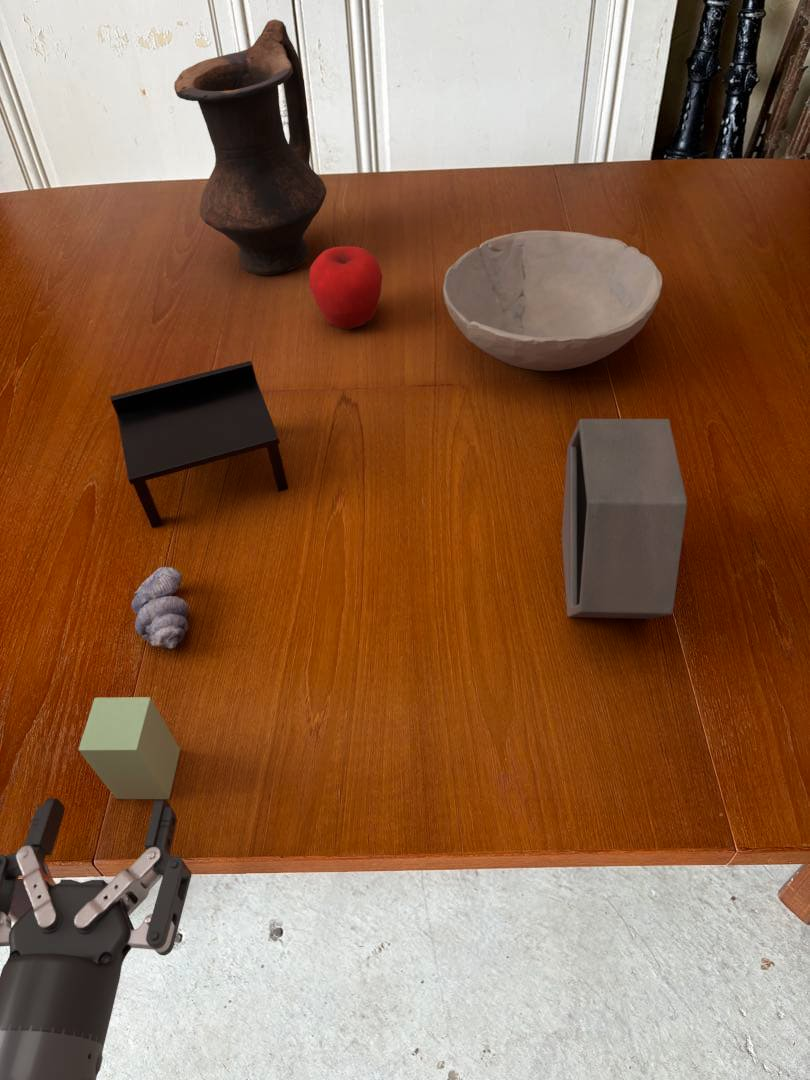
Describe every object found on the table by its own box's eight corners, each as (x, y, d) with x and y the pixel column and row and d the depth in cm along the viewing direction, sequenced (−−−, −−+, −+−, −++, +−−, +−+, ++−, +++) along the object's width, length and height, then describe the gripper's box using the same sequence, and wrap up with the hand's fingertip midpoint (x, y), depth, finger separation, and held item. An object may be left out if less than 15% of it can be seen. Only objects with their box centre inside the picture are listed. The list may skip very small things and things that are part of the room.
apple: (337, 351, 109) (327, 278, 101) (303, 319, 115) (291, 247, 107) (399, 324, 112) (393, 252, 104) (363, 294, 118) (355, 223, 110)
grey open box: (561, 459, 86) (587, 399, 66) (636, 459, 85) (685, 398, 65) (561, 619, 84) (588, 609, 63) (637, 621, 83) (689, 611, 63)
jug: (285, 304, 117) (242, 79, 95) (190, 274, 125) (128, 58, 102) (365, 237, 129) (344, 22, 106) (274, 213, 136) (235, 7, 113)
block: (116, 799, 69) (77, 750, 62) (129, 749, 72) (94, 697, 65) (169, 799, 69) (136, 749, 62) (180, 749, 72) (150, 696, 65)
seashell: (156, 594, 85) (179, 669, 79) (112, 581, 81) (133, 659, 75) (187, 561, 83) (213, 635, 77) (144, 546, 79) (168, 623, 73)
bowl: (410, 327, 112) (405, 261, 104) (570, 271, 119) (577, 205, 111) (513, 437, 96) (516, 367, 88) (691, 364, 103) (708, 294, 95)
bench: (150, 530, 89) (122, 465, 82) (137, 461, 97) (110, 396, 90) (290, 489, 92) (275, 423, 85) (267, 425, 100) (251, 360, 93)
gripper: (132, 1038, 49) (188, 781, 59) (-96, 1033, 49) (-1, 780, 60) (167, 1060, 54) (212, 821, 65) (-39, 1055, 55) (39, 820, 66)
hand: (109, 802), depth 62 cm, fingers open, 8 cm apart
